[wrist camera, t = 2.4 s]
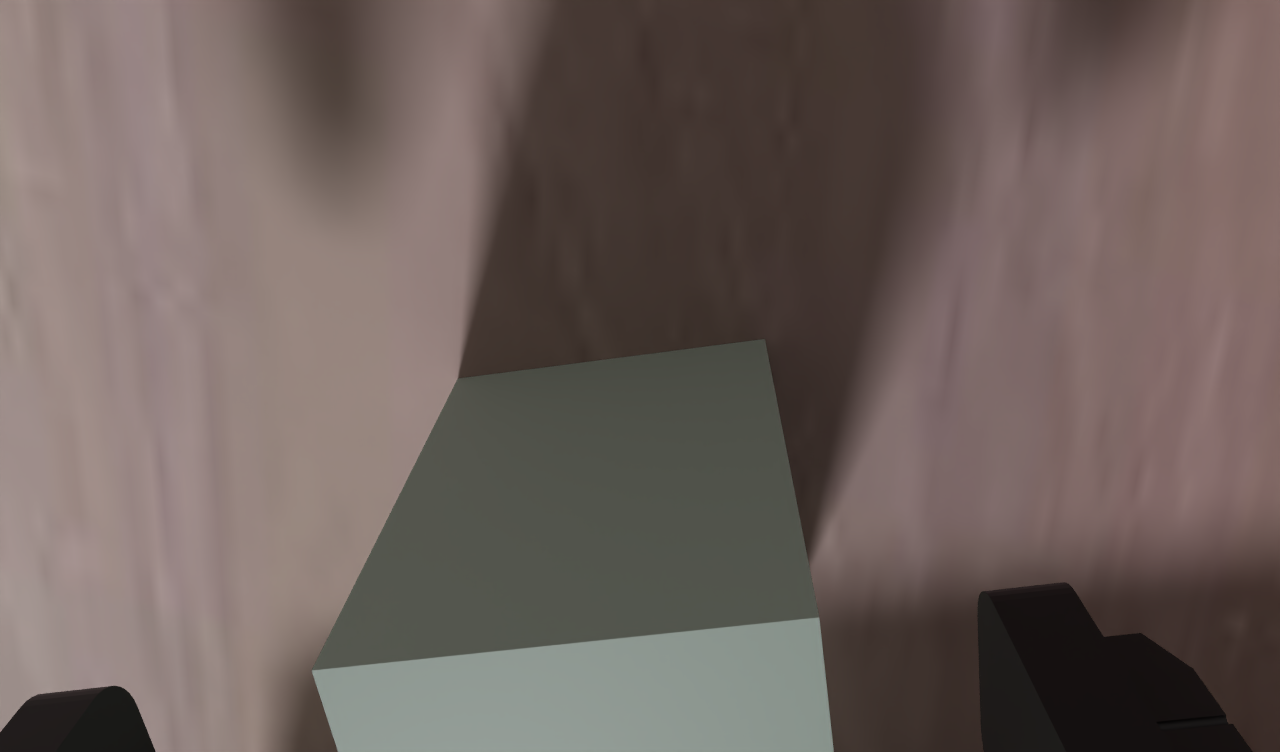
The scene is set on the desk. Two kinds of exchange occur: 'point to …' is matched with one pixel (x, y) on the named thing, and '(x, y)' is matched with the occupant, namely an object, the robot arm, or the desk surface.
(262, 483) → the desk surface
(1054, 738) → the robot arm
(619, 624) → the sage block
